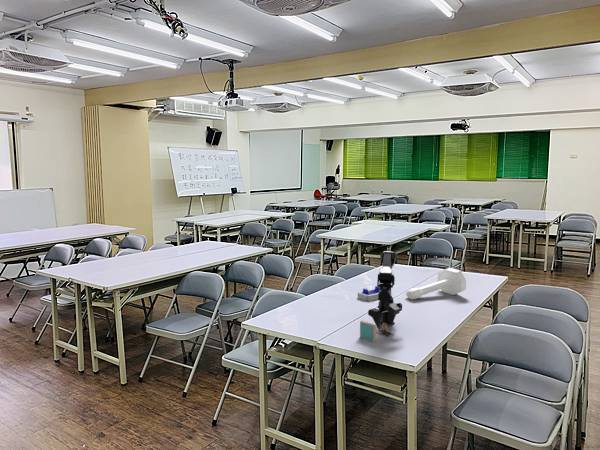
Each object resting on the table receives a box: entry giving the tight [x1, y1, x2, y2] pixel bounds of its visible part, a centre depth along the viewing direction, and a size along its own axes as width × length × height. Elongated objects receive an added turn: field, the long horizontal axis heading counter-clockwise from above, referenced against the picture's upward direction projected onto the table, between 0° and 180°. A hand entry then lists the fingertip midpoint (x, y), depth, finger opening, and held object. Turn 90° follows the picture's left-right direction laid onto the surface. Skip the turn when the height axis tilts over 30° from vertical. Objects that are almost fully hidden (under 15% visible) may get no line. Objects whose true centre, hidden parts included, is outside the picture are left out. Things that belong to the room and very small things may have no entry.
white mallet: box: [406, 267, 467, 301], centre depth 296 cm, size 24×18×35 cm
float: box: [376, 322, 395, 338], centre depth 231 cm, size 8×5×6 cm, turn 37°
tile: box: [359, 320, 377, 343], centre depth 224 cm, size 9×2×8 cm, turn 36°
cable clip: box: [362, 285, 380, 295], centre depth 296 cm, size 12×4×6 cm, turn 123°
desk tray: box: [357, 288, 379, 302], centre depth 296 cm, size 10×18×4 cm, turn 126°
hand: (384, 326), depth 231 cm, fingers open, 9 cm apart
